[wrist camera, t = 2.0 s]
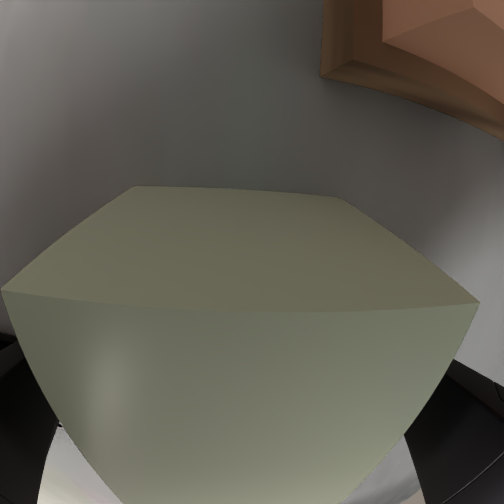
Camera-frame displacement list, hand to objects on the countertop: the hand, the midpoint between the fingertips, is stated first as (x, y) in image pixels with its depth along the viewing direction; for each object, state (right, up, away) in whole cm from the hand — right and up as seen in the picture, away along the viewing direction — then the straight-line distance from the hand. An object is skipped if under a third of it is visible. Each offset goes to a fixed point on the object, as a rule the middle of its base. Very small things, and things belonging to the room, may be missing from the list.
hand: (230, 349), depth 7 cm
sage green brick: (0, +1, +2) cm, 3 cm away
